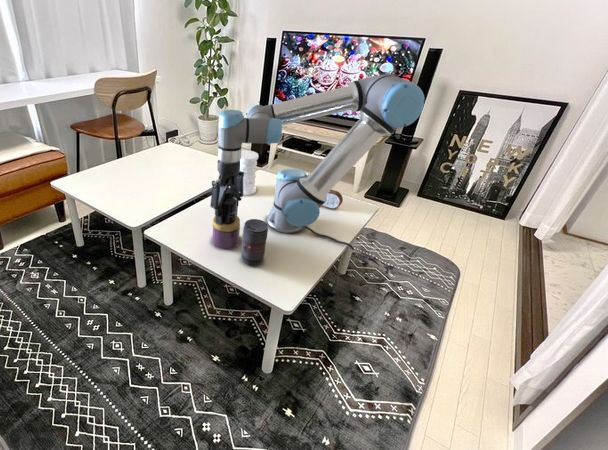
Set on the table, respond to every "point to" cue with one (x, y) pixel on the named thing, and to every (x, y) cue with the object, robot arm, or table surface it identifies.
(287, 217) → the robot arm
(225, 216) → the supplement bottle
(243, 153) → the decorative container
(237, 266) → the table surface
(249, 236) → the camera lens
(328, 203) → the tin
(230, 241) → the jar
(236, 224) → the jar lid
